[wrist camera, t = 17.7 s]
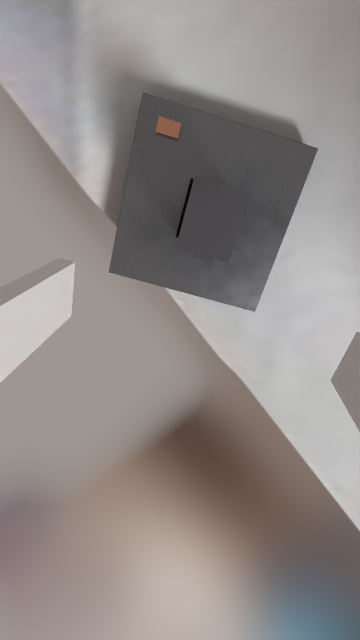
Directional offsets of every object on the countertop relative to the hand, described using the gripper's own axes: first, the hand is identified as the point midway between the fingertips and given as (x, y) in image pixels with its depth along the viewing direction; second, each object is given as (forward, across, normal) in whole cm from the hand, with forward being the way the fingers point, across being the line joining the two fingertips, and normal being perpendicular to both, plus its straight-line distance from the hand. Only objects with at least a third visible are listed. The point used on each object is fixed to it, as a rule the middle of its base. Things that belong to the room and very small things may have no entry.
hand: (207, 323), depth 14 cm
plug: (+21, -2, +2) cm, 21 cm away
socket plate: (+21, -2, +2) cm, 21 cm away
